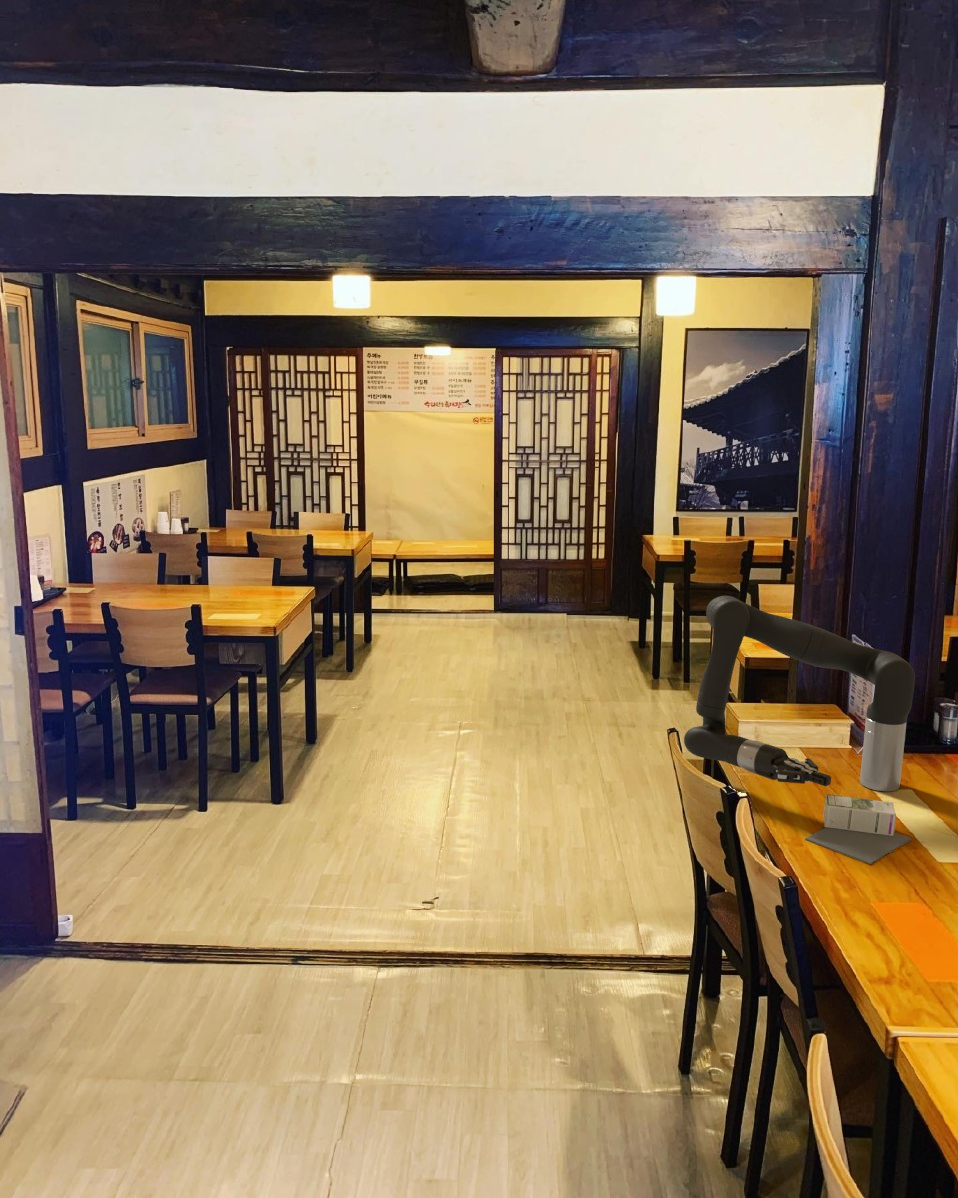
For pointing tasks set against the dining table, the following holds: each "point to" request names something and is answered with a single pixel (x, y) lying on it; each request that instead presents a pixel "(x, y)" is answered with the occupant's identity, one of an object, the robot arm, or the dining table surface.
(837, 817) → the syrup box
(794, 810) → the dining table surface
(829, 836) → the mat
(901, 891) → the dining table surface
